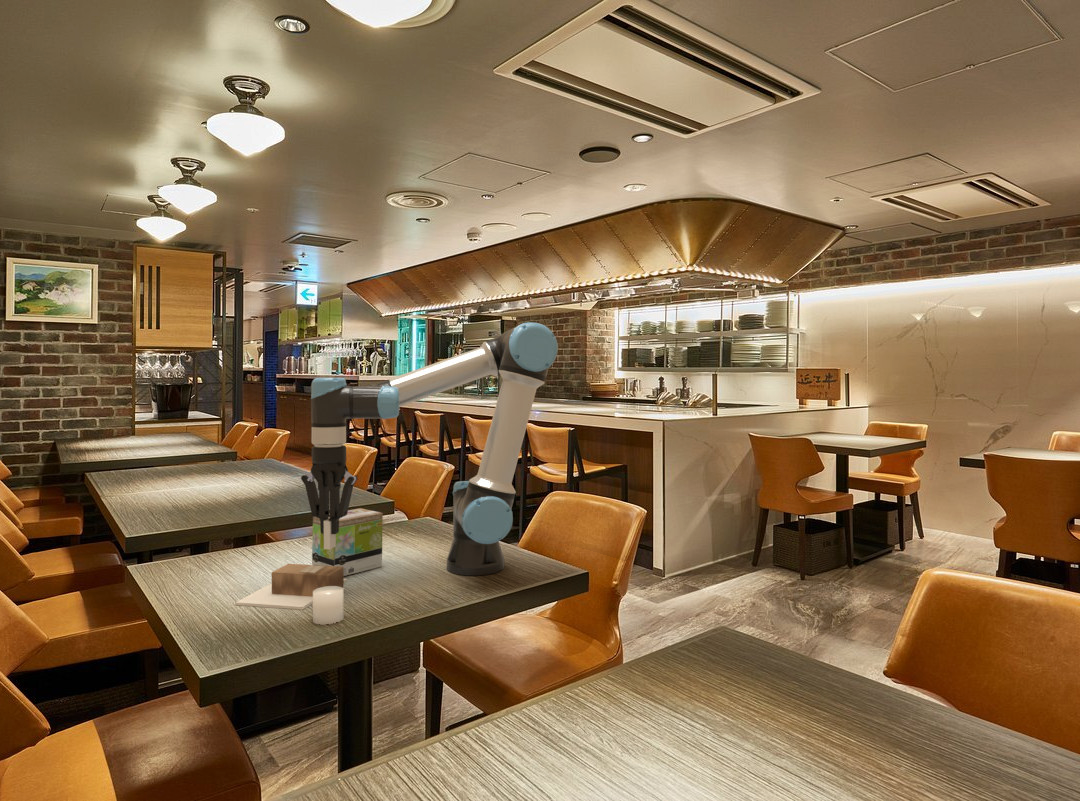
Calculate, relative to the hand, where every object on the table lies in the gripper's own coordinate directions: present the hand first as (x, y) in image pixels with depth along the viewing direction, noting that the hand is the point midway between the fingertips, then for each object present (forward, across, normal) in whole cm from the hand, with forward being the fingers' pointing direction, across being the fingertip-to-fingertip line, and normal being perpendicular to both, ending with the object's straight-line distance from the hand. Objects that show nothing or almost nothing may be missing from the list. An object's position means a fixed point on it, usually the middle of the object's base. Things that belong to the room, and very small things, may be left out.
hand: (329, 547), depth 149 cm
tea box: (+11, +5, -19) cm, 23 cm away
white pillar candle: (+11, -7, +14) cm, 19 cm away
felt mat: (+11, +9, 0) cm, 14 cm away
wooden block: (+8, -2, 0) cm, 8 cm away
